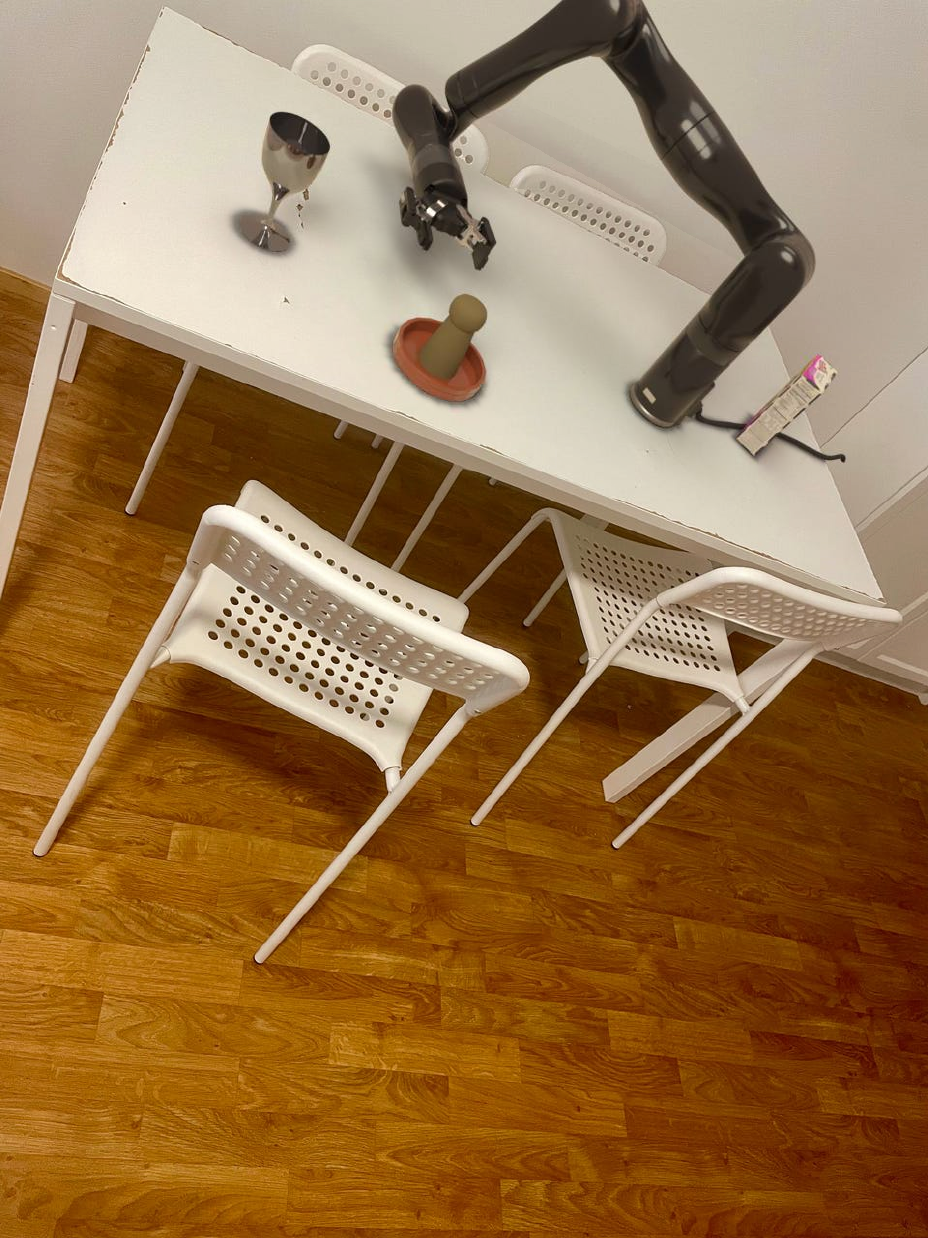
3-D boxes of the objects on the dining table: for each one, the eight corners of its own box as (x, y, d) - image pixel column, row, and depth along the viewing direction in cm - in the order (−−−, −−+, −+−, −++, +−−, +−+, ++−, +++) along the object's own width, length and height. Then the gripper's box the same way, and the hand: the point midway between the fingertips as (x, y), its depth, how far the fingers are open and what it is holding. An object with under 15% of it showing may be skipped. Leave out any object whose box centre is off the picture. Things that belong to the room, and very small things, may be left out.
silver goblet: (303, 246, 120) (342, 151, 109) (265, 258, 115) (301, 158, 104) (264, 208, 120) (299, 108, 109) (223, 218, 115) (255, 114, 104)
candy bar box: (751, 416, 159) (818, 352, 147) (770, 434, 159) (839, 372, 147) (733, 438, 151) (802, 372, 139) (753, 457, 151) (825, 393, 139)
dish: (469, 343, 127) (476, 332, 126) (485, 410, 121) (493, 400, 119) (387, 318, 121) (393, 306, 119) (399, 387, 114) (406, 376, 113)
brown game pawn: (450, 386, 119) (488, 326, 111) (413, 362, 118) (449, 301, 110) (460, 363, 123) (498, 304, 115) (424, 340, 122) (460, 279, 114)
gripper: (406, 143, 121) (421, 215, 113) (491, 179, 128) (511, 250, 120) (384, 189, 126) (398, 261, 118) (467, 221, 133) (485, 291, 125)
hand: (455, 255), depth 119 cm, fingers open, 8 cm apart
